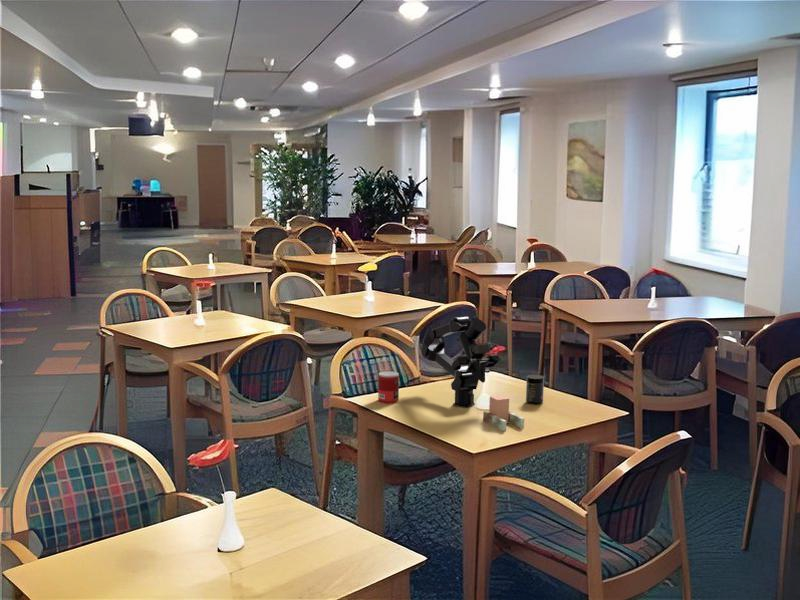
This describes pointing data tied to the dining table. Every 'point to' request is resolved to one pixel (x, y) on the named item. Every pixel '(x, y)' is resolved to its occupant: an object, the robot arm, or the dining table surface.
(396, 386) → the canned food
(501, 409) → the block
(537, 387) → the supplement container
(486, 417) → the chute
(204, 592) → the dining table surface
